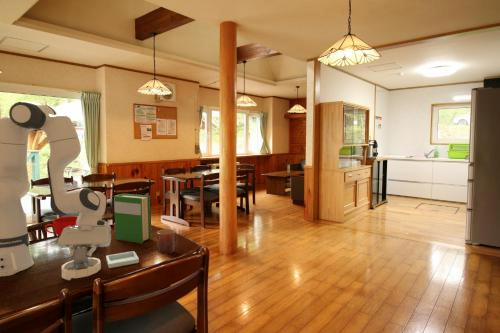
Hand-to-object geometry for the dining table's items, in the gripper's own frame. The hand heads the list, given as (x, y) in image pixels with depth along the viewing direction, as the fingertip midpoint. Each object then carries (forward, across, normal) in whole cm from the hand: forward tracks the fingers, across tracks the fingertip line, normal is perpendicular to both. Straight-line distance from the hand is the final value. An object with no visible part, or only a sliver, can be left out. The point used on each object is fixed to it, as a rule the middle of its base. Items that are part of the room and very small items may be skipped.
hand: (80, 256), depth 128 cm
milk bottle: (-20, -13, +31) cm, 39 cm away
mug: (-10, +30, +21) cm, 38 cm away
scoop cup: (+4, 0, +4) cm, 6 cm away
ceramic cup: (-29, -30, +39) cm, 57 cm away
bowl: (+5, 0, +5) cm, 7 cm away
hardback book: (-25, +9, +35) cm, 44 cm away
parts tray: (-2, +14, +12) cm, 18 cm away
